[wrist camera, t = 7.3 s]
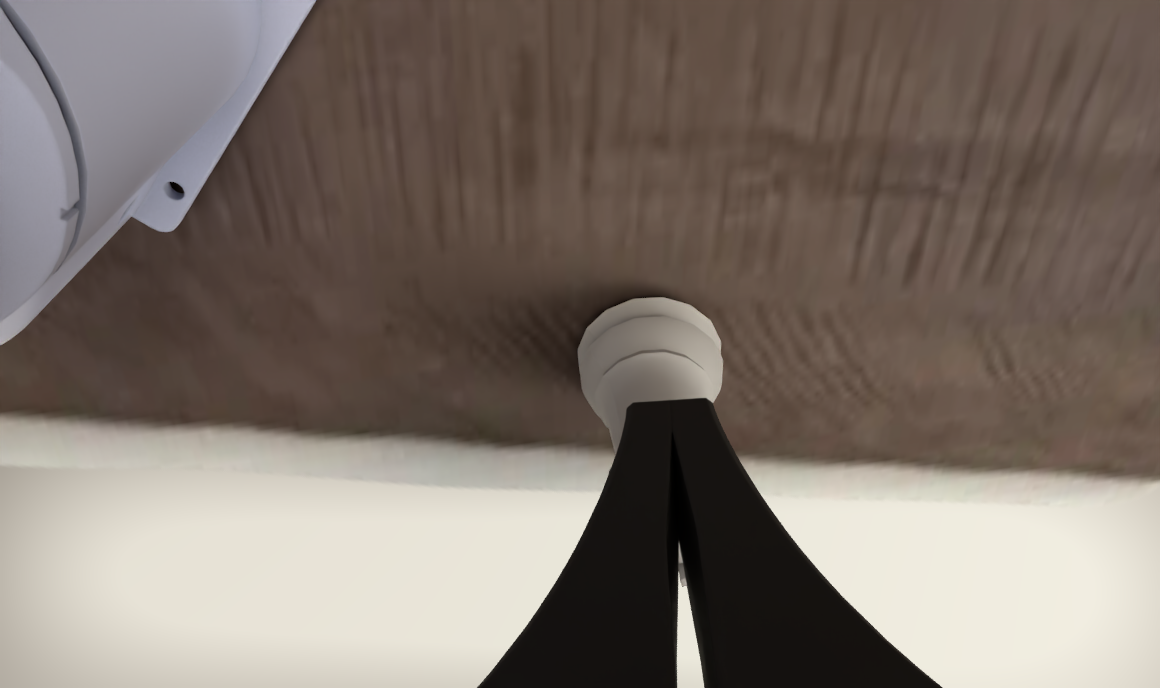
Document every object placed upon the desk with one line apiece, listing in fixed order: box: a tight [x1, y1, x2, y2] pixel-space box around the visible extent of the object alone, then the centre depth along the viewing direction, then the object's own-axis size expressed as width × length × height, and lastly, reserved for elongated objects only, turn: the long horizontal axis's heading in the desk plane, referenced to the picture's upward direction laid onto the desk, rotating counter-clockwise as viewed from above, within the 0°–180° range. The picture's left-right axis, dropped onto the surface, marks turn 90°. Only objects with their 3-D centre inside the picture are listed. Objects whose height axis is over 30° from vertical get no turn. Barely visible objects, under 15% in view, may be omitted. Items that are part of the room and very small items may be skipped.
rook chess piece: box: [578, 297, 723, 587], centre depth 22 cm, size 4×4×8 cm
